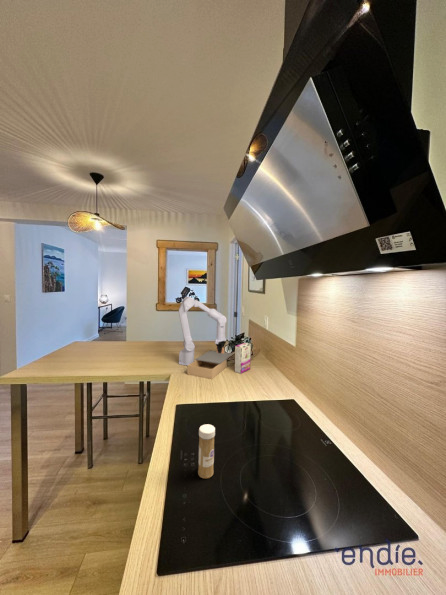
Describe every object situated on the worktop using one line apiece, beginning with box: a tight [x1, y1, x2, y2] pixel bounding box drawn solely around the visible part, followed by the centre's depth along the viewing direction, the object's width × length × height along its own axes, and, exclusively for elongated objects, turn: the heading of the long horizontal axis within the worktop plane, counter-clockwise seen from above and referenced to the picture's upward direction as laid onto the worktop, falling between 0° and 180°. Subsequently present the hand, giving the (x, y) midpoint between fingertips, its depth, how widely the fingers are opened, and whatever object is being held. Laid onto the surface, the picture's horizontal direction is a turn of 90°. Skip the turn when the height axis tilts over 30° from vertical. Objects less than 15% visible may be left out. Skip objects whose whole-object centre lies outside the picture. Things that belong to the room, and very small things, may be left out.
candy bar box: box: [234, 342, 252, 375], centre depth 157 cm, size 11×5×16 cm, turn 143°
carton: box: [186, 358, 228, 380], centre depth 155 cm, size 16×22×6 cm
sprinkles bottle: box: [197, 423, 216, 479], centre depth 72 cm, size 5×5×13 cm
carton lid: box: [194, 347, 234, 364], centre depth 164 cm, size 17×23×4 cm
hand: (220, 352), depth 173 cm, fingers closed on carton lid, 2 cm apart
